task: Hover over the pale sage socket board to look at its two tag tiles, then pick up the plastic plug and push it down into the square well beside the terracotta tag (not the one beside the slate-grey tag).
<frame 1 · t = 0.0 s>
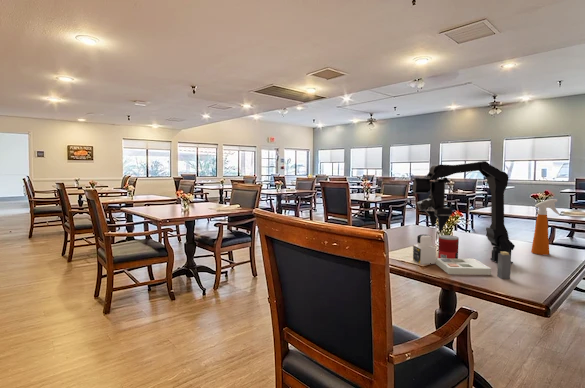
hand: (436, 228, 149), 15 cm above the table, fingers open, 9 cm apart
canned food: (447, 261, 150), on the table
medicine bottle: (424, 262, 149), on the table
socket board: (461, 269, 138), on the table
plug: (503, 277, 127), on the table
spray bottle: (544, 253, 162), on the table
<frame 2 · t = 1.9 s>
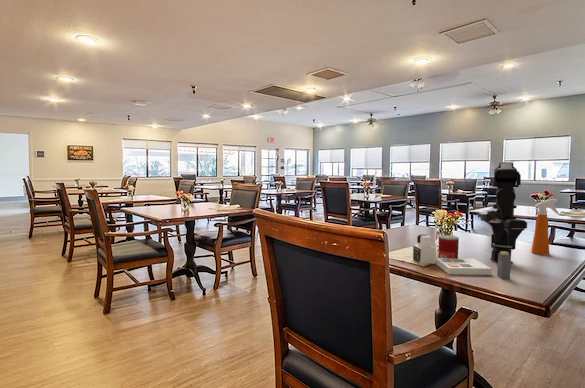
hand: (503, 243, 127), 13 cm above the table, fingers open, 9 cm apart
nothing on the table moved.
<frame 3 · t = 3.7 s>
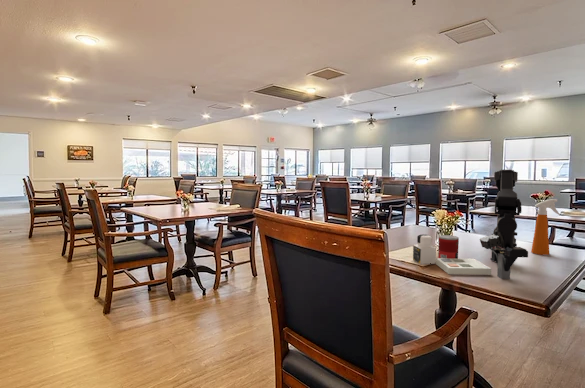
hand: (503, 269, 127), 3 cm above the table, fingers closed on plug, 3 cm apart
plug: (503, 277, 127), on the table, touching gripper
everything else where it was.
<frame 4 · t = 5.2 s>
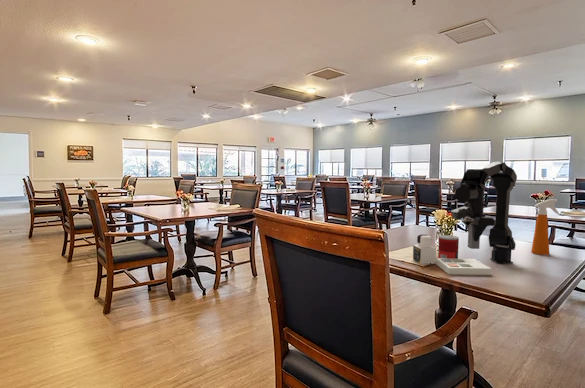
hand: (473, 240, 132), 13 cm above the table, fingers closed on plug, 3 cm apart
plug: (473, 247, 132), point 10 cm above the table, touching gripper
everything else where it was.
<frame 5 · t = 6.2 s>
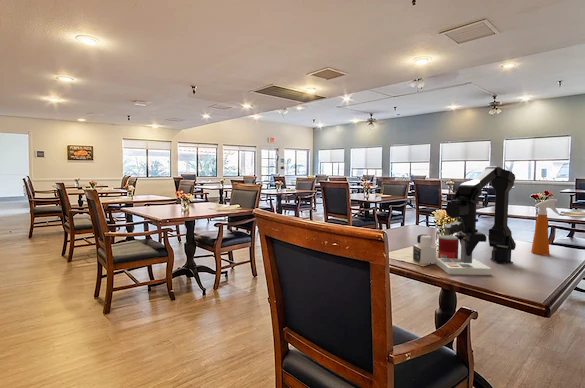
hand: (466, 254, 134), 7 cm above the table, fingers closed on plug, 3 cm apart
plug: (466, 262, 134), point 4 cm above the table, touching gripper
everything else where it was.
when the fingers open (4 cm above the table, at t = 7.0 s): plug drops 1 cm, resting in socket board.
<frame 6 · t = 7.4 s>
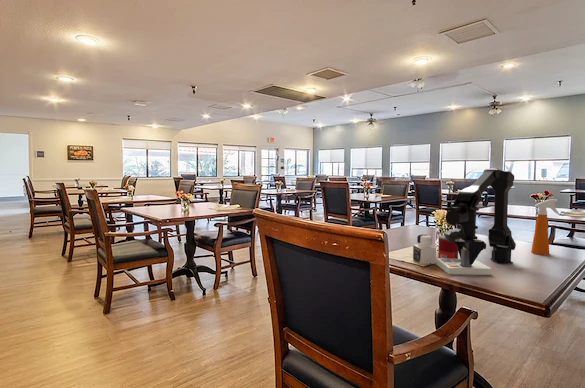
hand: (466, 261, 134), 4 cm above the table, fingers open, 8 cm apart
plug: (465, 271, 135), resting in socket board
everything else where it was.
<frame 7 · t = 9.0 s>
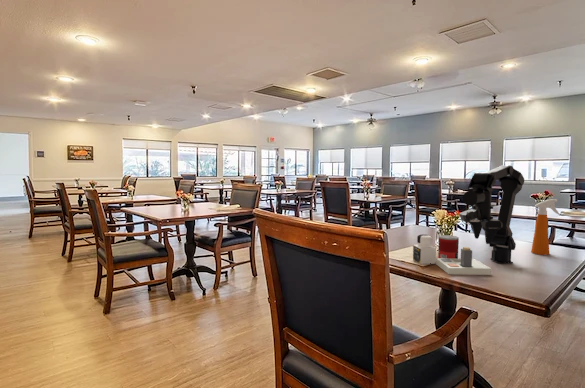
hand: (482, 241, 138), 12 cm above the table, fingers open, 9 cm apart
nothing on the table moved.
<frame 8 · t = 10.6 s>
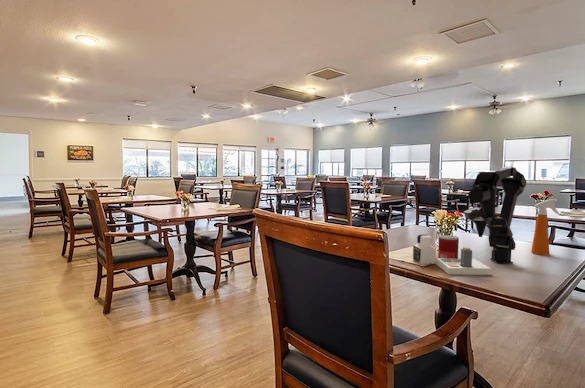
hand: (485, 239, 138), 12 cm above the table, fingers open, 9 cm apart
nothing on the table moved.
at the end: plug 0.0 cm from the target spot on the socket board, point 0.0 cm above the socket board's base; plug tilted 0°; the gripper is holding nothing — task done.
